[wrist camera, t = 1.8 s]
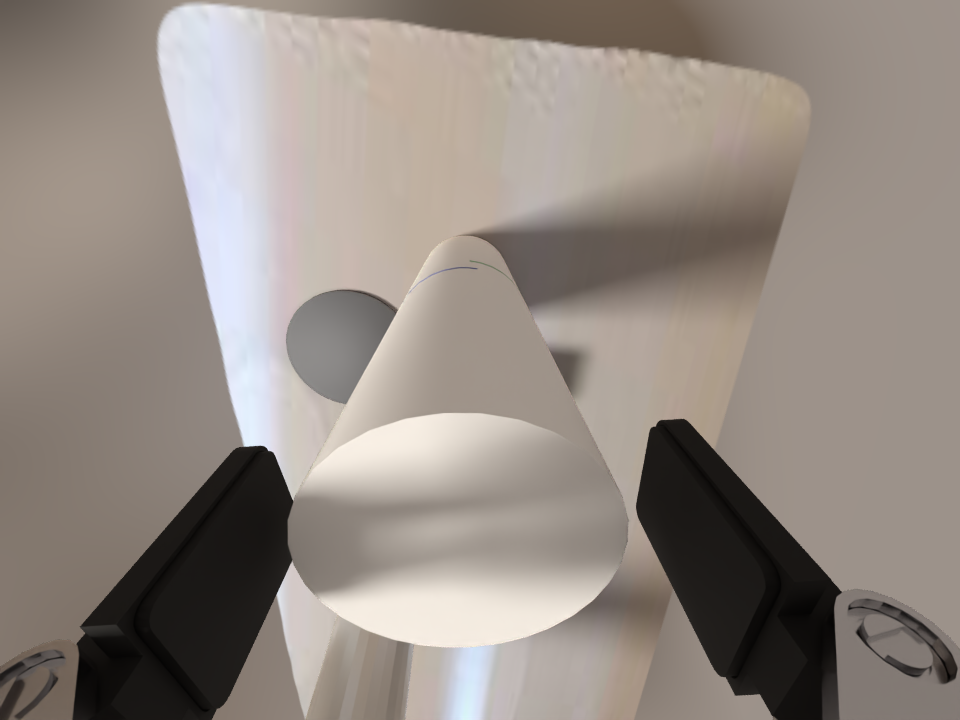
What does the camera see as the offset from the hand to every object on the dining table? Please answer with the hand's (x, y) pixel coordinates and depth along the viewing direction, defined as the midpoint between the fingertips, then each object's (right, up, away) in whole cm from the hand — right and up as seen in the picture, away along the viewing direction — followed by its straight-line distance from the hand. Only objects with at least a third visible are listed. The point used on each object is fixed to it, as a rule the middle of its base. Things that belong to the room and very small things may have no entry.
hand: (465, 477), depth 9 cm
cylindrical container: (-1, +10, +21) cm, 23 cm away
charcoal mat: (-11, +4, +23) cm, 26 cm away
